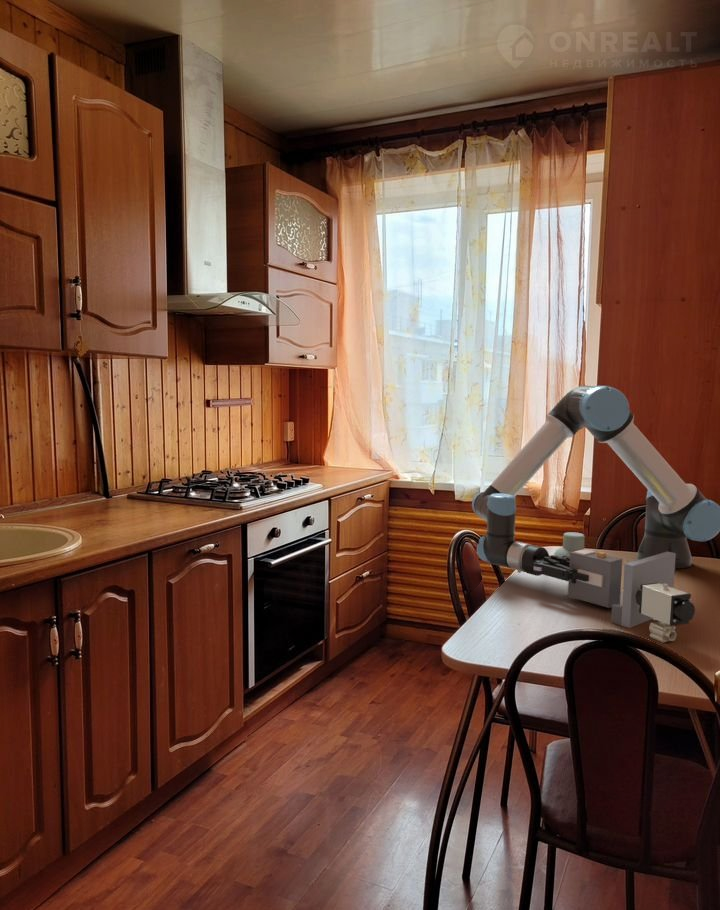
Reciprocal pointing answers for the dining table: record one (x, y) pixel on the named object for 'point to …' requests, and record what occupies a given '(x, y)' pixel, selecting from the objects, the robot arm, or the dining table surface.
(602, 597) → the block
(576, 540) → the air freshener
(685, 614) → the pneumatic valve
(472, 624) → the dining table surface
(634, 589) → the rail panel
